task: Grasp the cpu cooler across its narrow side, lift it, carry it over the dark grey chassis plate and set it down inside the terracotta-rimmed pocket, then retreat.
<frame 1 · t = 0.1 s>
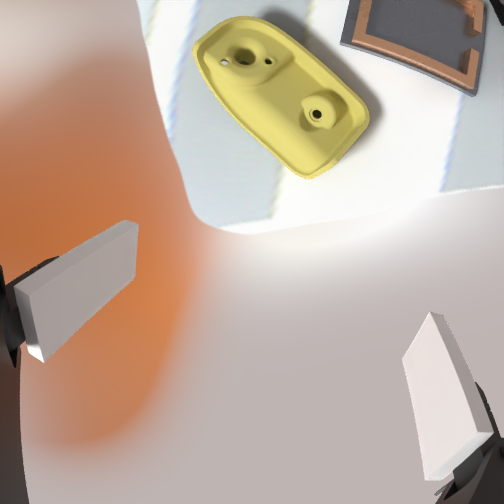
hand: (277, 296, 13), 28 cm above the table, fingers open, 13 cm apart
plastic component: (284, 93, 35), on the table
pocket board: (418, 22, 27), on the table
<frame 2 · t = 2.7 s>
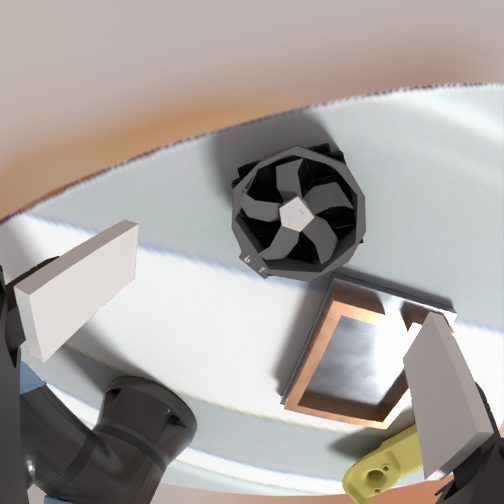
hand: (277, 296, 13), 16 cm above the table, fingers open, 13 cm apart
plastic component: (407, 441, 37), on the table
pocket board: (364, 359, 32), on the table
cpu cooler: (300, 202, 28), on the table
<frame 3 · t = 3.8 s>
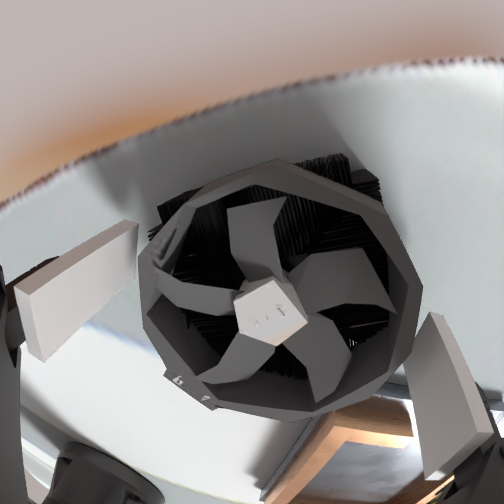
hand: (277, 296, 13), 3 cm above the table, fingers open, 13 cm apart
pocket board: (372, 463, 20), on the table
cpu cooler: (286, 261, 16), on the table
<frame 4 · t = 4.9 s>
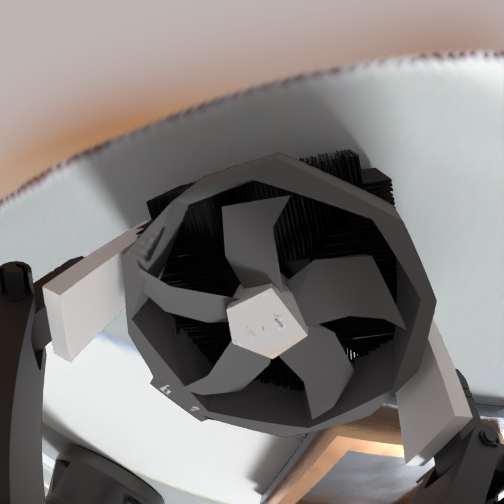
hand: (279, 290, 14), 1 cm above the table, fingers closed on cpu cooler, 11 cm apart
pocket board: (375, 469, 19), on the table
cpu cooler: (286, 264, 15), on the table, touching gripper
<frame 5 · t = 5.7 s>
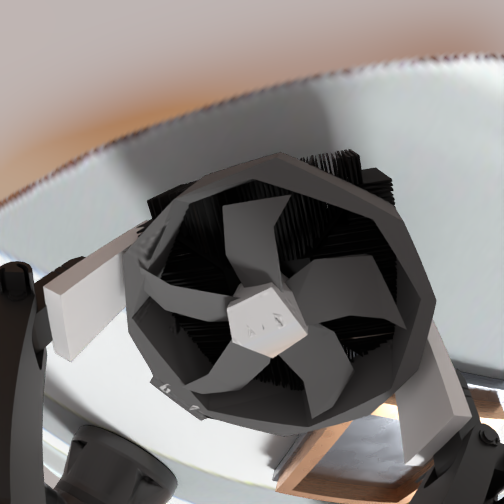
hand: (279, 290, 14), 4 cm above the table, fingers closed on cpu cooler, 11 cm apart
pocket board: (383, 441, 21), on the table
cpu cooler: (286, 263, 15), point 2 cm above the table, touching gripper
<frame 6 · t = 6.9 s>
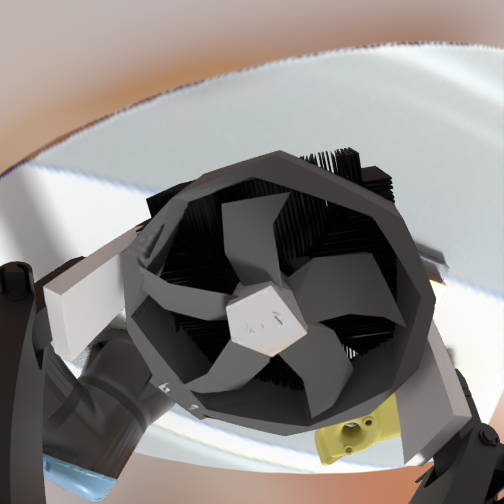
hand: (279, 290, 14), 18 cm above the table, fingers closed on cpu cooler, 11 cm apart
plastic component: (391, 400, 37), on the table
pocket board: (353, 313, 33), on the table
cpu cooler: (285, 262, 15), point 16 cm above the table, touching gripper
when the fingers open (4 cm above the table, at t = 11.2 s): cpu cooler stays where it is, resting on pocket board.
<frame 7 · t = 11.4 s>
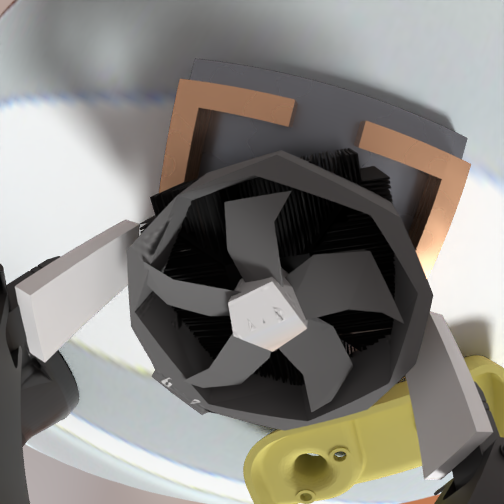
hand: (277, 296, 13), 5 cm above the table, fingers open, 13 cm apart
plastic component: (382, 416, 22), on the table
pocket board: (289, 251, 18), on the table
cpu cooler: (286, 260, 15), point 3 cm above the table, touching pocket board
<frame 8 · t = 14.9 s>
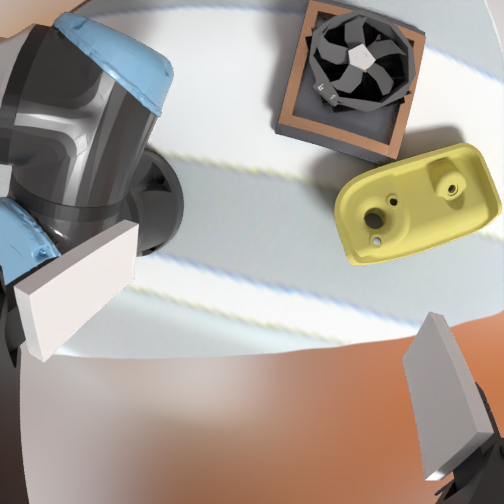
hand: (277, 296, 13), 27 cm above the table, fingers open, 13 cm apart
plastic component: (412, 199, 35), on the table
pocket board: (353, 78, 31), on the table
cpu cooler: (356, 68, 29), point 3 cm above the table, touching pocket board
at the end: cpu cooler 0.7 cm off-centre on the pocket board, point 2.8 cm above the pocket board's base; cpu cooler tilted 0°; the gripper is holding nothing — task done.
